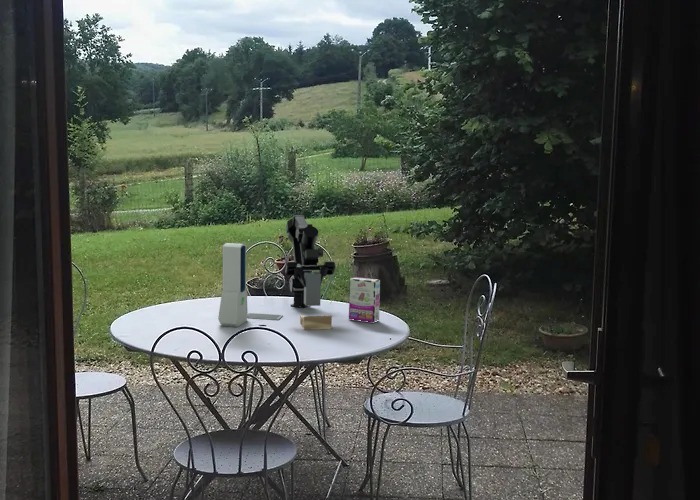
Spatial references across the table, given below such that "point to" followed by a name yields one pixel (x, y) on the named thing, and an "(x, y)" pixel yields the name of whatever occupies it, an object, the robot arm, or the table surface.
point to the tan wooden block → (315, 322)
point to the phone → (264, 316)
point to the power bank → (312, 288)
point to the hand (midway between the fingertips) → (312, 286)
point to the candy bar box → (364, 299)
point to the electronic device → (233, 286)
